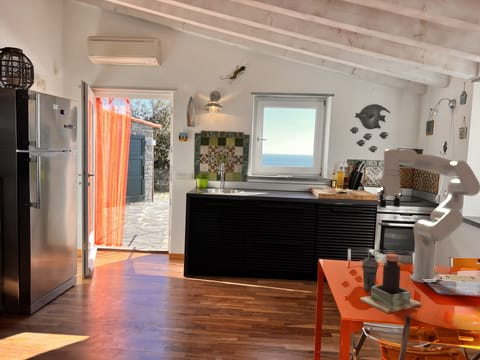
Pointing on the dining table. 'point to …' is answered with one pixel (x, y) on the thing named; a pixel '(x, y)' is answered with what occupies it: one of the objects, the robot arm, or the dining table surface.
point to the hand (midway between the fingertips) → (389, 207)
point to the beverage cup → (369, 272)
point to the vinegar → (391, 275)
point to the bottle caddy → (390, 299)
